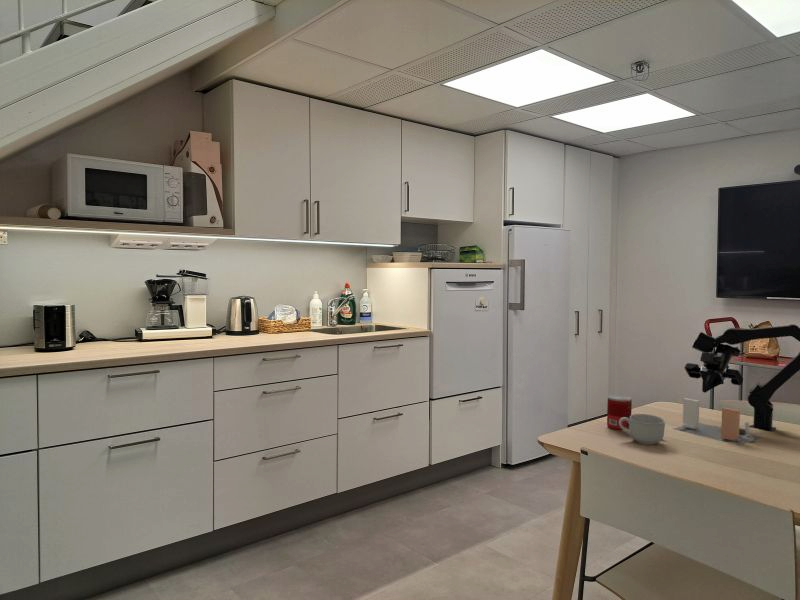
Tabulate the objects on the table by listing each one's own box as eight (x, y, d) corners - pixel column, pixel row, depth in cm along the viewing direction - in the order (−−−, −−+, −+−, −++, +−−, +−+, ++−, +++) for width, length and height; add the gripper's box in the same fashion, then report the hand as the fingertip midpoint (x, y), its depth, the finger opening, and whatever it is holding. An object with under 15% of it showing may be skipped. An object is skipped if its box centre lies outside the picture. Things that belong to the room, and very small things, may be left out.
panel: (697, 425, 206) (697, 405, 206) (763, 440, 188) (764, 418, 187) (672, 431, 197) (673, 410, 197) (739, 448, 179) (740, 425, 179)
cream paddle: (685, 424, 201) (686, 397, 201) (699, 428, 197) (700, 400, 196) (681, 426, 199) (682, 398, 199) (695, 429, 195) (696, 401, 195)
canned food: (632, 431, 197) (633, 400, 196) (608, 429, 199) (609, 398, 198) (628, 425, 204) (629, 395, 204) (605, 424, 206) (606, 394, 206)
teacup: (664, 439, 187) (665, 416, 187) (664, 449, 178) (665, 423, 177) (619, 434, 193) (620, 411, 193) (617, 442, 183) (618, 418, 183)
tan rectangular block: (724, 436, 188) (725, 407, 187) (740, 439, 184) (741, 410, 183) (719, 437, 186) (720, 408, 186) (735, 441, 182) (736, 411, 181)
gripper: (687, 341, 212) (670, 373, 206) (740, 347, 196) (722, 381, 191) (698, 360, 217) (681, 392, 211) (750, 367, 201) (733, 402, 196)
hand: (703, 391), depth 202 cm, fingers closed
